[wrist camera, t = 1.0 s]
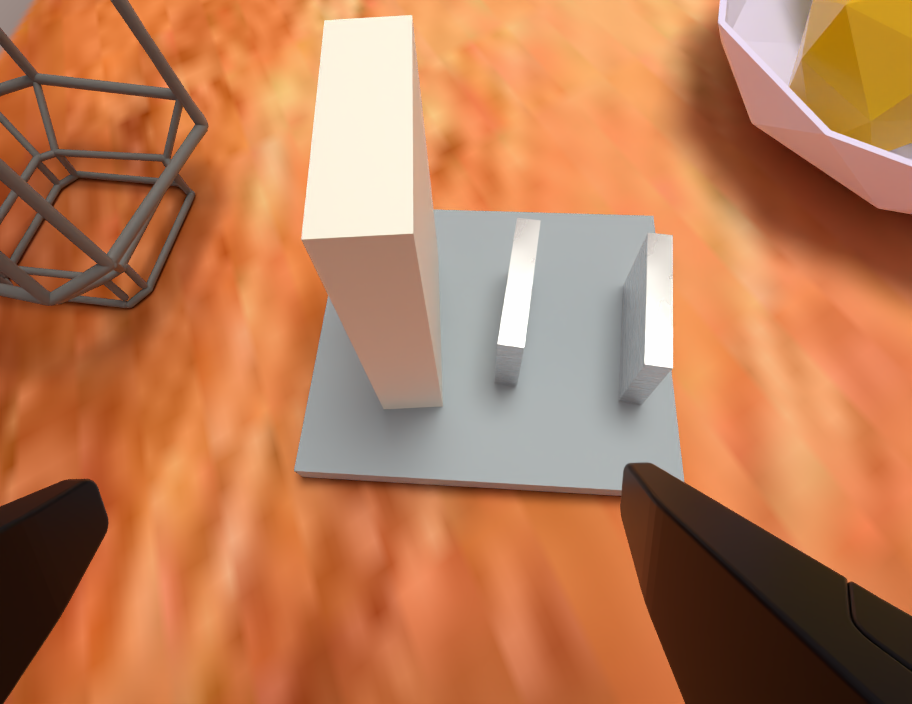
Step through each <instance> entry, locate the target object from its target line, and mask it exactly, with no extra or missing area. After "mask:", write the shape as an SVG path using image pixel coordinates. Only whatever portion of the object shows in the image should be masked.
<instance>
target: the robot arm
mask: <svg viewBox="0 0 912 704" xmlns="http://www.w3.org/2000/svg"><path fill="white" fill-rule="evenodd" d="M620 510H621V517H622V521H623V525H624V529H625V532H626V536H627V540H628V543H629V547H630V551H631V554H632V558H633V561H634V565H635V569H636V572H637V576H638V580H639V583H640V587H641V590H642V594H643V597H644V601H645V604H646V606H647V609H648V612H649V614H650V617H651V620H652V622H653V625H654V627H655V630H656V632H657V635H658V637H659V640H660V642H661V645H662V647H663V650H664V652H665V655H666V657H667V660H668V662H669V664H670V667H671V669H672V672H673V674H674V677H675V679H676V682H677V684H678V687H679V689H680V692H681V694H682V697H683V699H684V702H685V704H912V616H911V615H909V614H907V613H905V612H904V611H902V610H900V609H898V608H897V607H895V606H893V605H891V604H890V603H888V602H886V601H884V600H883V599H881V598H879V597H878V596H876V595H874V594H873V593H871V592H869V591H868V590H866V589H864V588H862V587H861V586H859V585H857V584H856V583H854V582H849V583H848V582H847V579H846V578H845V577H844V576H842V575H840V574H839V573H837V572H835V571H833V570H832V569H830V568H828V567H827V566H825V565H823V564H822V563H820V562H818V561H817V560H815V559H813V558H811V557H810V556H808V555H806V554H805V553H803V552H801V551H800V550H798V549H796V548H795V547H793V546H791V545H789V544H788V543H786V542H784V541H783V540H781V539H779V538H778V537H776V536H774V535H773V534H771V533H769V532H767V531H766V530H764V529H762V528H761V527H759V526H757V525H756V524H754V523H752V522H751V521H749V520H747V519H745V518H744V517H742V516H740V515H739V514H737V513H735V512H734V511H732V510H730V509H729V508H727V507H725V506H723V505H722V504H720V503H718V502H717V501H715V500H713V499H712V498H710V497H708V496H707V495H705V494H703V493H701V492H700V491H698V490H696V489H695V488H693V487H691V486H690V485H688V484H686V483H685V482H683V481H681V480H679V479H678V478H676V477H674V476H673V475H671V474H669V473H668V472H666V471H664V470H663V469H661V468H659V467H658V466H656V465H654V464H652V463H649V462H640V463H627V464H626V465H625V467H624V470H623V479H622V491H621V503H620ZM107 529H108V516H107V513H106V510H105V507H104V504H103V501H102V498H101V495H100V492H99V489H98V487H97V484H96V483H95V482H94V481H92V480H90V479H68V480H64V481H61V482H58V483H56V484H54V485H51V486H49V487H46V488H44V489H42V490H39V491H37V492H34V493H32V494H30V495H27V496H25V497H22V498H20V499H18V500H15V501H13V502H10V503H8V504H5V505H3V506H1V507H0V704H4V702H5V701H6V699H7V698H8V696H9V695H10V693H11V692H12V690H13V689H14V687H15V686H16V684H17V683H18V681H19V680H20V678H21V676H22V675H23V673H24V672H25V670H26V669H27V667H28V666H29V664H30V663H31V661H32V660H33V658H34V657H35V655H36V654H37V652H38V651H39V649H40V648H41V646H42V645H43V643H44V642H45V640H46V639H47V637H48V636H49V634H50V633H51V631H52V630H53V628H54V626H55V625H56V623H57V622H58V620H59V618H60V617H61V615H62V613H63V612H64V610H65V608H66V606H67V605H68V603H69V601H70V599H71V597H72V596H73V594H74V592H75V590H76V588H77V586H78V584H79V583H80V581H81V579H82V577H83V575H84V573H85V572H86V570H87V568H88V566H89V564H90V562H91V560H92V559H93V557H94V555H95V553H96V551H97V549H98V548H99V546H100V544H101V542H102V540H103V538H104V536H105V534H106V532H107Z"/></svg>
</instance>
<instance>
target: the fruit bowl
mask: <svg viewBox="0 0 912 704" xmlns="http://www.w3.org/2000/svg"><path fill="white" fill-rule="evenodd" d="M718 26H719V32H720V39H721V43H722V45H723V48H724V51H725V53H726V56H727V59H728V62H729V64H730V67H731V70H732V72H733V75H734V78H735V80H736V83H737V86H738V88H739V91H740V94H741V96H742V99H743V102H744V105H745V107H746V110H747V113H748V115H749V118H750V121H751V123H752V124H753V125H755V126H756V127H758V128H759V129H761V130H762V131H764V132H765V133H767V134H768V135H770V136H771V137H773V138H774V139H776V140H777V141H779V142H780V143H782V144H783V145H784V146H786V147H787V148H789V149H790V150H792V151H793V152H795V153H796V154H798V155H799V156H801V157H802V158H804V159H805V160H807V161H808V162H810V163H811V164H813V165H814V166H816V167H817V168H819V169H820V170H822V171H823V172H825V173H826V174H827V175H829V176H830V177H832V178H833V179H835V180H836V181H838V182H839V183H841V184H842V185H844V186H845V187H847V188H848V189H850V190H851V191H853V192H854V193H856V194H857V195H859V196H860V197H862V198H863V199H865V200H866V201H868V202H869V203H870V204H872V205H873V206H875V207H876V208H878V209H883V210H889V211H895V212H901V213H907V214H912V0H720V6H719V16H718Z"/></svg>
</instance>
